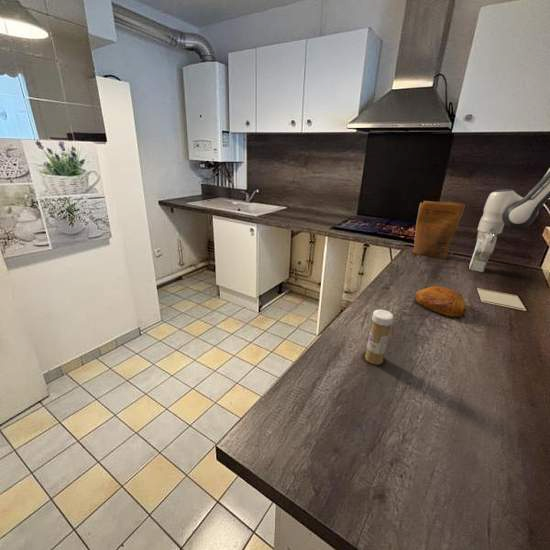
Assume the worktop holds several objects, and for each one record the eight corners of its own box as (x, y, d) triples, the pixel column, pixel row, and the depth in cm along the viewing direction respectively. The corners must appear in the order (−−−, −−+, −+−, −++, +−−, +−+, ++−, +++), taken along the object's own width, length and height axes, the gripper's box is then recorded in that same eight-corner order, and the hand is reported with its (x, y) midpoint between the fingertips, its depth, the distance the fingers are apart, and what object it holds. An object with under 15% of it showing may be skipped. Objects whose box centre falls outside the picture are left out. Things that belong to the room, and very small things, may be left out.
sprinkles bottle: (360, 356, 75) (369, 310, 69) (374, 352, 76) (384, 307, 71) (373, 367, 71) (382, 320, 65) (387, 363, 73) (398, 316, 67)
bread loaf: (448, 328, 92) (459, 308, 88) (406, 301, 103) (414, 282, 99) (471, 315, 99) (482, 296, 95) (430, 291, 110) (437, 273, 106)
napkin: (516, 296, 110) (517, 295, 110) (526, 311, 99) (526, 310, 99) (476, 288, 115) (477, 287, 115) (481, 302, 105) (481, 301, 104)
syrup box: (483, 269, 136) (493, 239, 130) (483, 273, 131) (494, 242, 125) (468, 266, 138) (478, 237, 132) (469, 270, 134) (478, 240, 128)
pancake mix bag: (449, 261, 144) (465, 204, 133) (408, 254, 153) (420, 199, 141) (449, 257, 149) (465, 202, 138) (410, 250, 158) (422, 198, 147)
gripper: (503, 233, 117) (492, 265, 122) (494, 224, 134) (485, 252, 139) (485, 231, 119) (475, 263, 125) (478, 222, 136) (469, 250, 142)
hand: (480, 257), depth 132 cm, fingers closed on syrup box, 6 cm apart
